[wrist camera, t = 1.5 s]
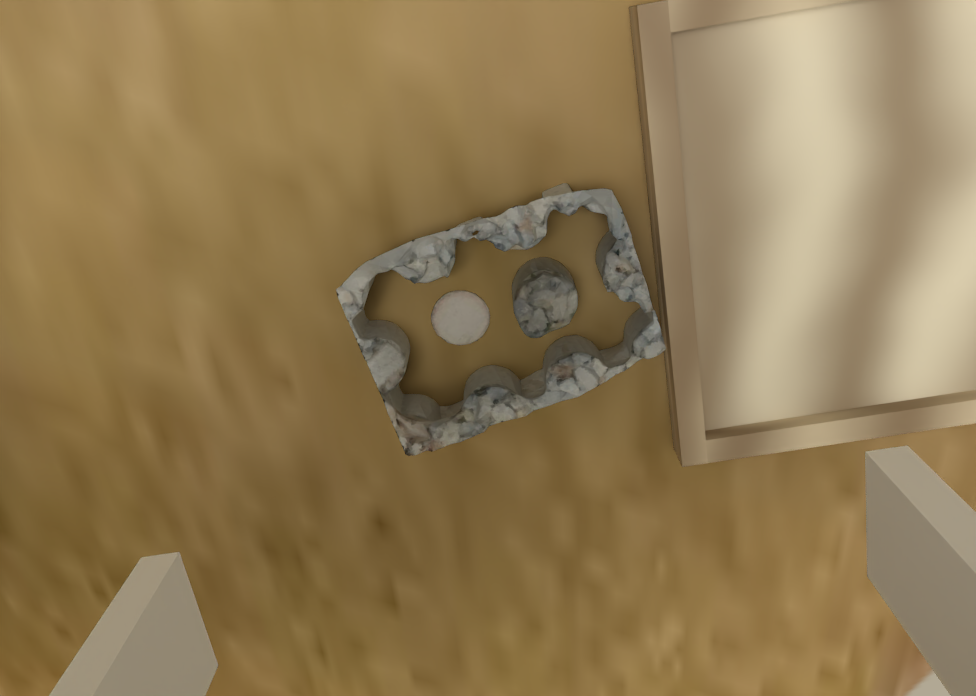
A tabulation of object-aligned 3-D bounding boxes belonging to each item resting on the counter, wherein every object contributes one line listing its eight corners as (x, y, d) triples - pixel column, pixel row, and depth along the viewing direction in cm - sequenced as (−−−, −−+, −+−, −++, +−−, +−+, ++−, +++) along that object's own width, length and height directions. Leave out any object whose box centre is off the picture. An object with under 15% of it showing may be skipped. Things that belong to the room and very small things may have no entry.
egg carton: (404, 420, 35) (394, 469, 31) (336, 249, 32) (315, 279, 28) (658, 344, 33) (680, 384, 30) (608, 160, 31) (625, 178, 27)
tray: (673, 448, 35) (682, 466, 33) (629, 6, 29) (636, 5, 27) (1073, 388, 34) (1100, 404, 32) (1110, -79, 28) (1145, -86, 26)
